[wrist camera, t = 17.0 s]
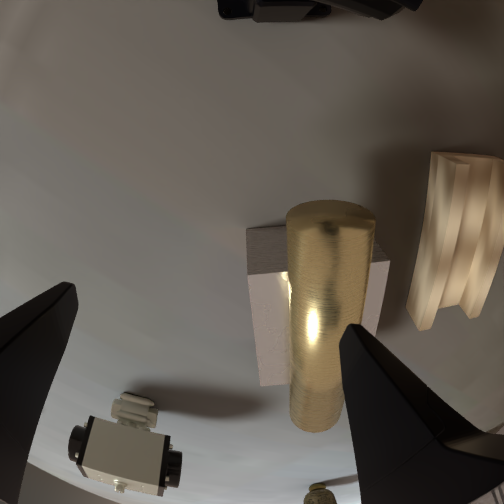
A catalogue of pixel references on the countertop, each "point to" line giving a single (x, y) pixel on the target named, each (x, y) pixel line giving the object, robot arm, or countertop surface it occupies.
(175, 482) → the pneumatic valve
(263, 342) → the cradle
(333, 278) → the axle
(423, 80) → the countertop surface
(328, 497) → the cup
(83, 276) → the countertop surface
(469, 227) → the beam
